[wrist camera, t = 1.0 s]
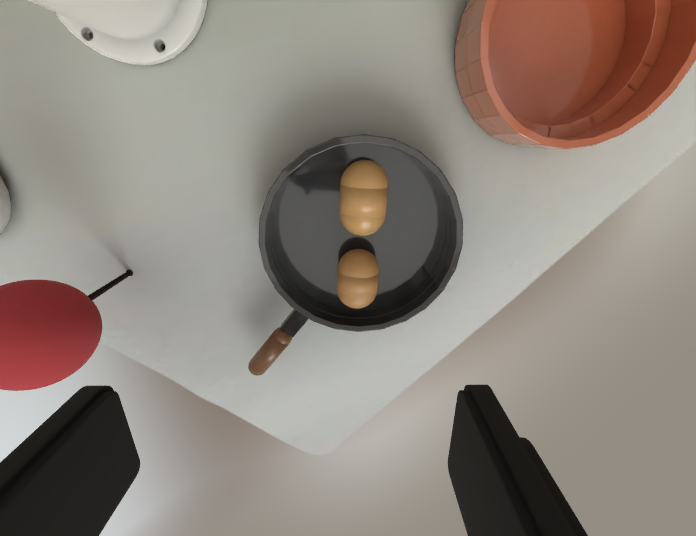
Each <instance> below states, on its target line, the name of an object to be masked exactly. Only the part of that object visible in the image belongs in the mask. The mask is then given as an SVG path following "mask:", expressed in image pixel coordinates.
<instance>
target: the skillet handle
mask: <svg viewBox="0 0 696 536" xmlns="http://www.w3.org/2000/svg"><path fill="white" fill-rule="evenodd" d="M308 319H309V318H307V317H306V316H304V315H303V314H301V313H300V312H298V311H297V310H295V309H294V310H293V311H292V312H291V313H290V315H289V316H288V317H287V318H286V320H285V321H284V322H283V323H282V325H281V327H280V328H277V329H276V330H275V331H274V332H273V333H272V335H271V336H270V337H269V338H268V340H267V341H266V342H265V343H264V344H263V346H262V347H261V348H260V349H259V351H258V352H257V353H256V354H255V355H254V357H253V358H252V359H251V360H250V362H249V371H250V372H251V373H252V374H253V375H262V374H263V373H264V372H265V371H266V370H267V369H268V368H269V367H270V366H271V364H272V363H273V362H274V361H275V360H276V359H277V357H278V356H279V355H280V354H281V353H282V351H283V350H284V349H285V348H286V347H287V346H288V344H289V343H290V342H291V340H292V337H294V335H295V334H296V333H297V332H298V331H299V329H300V328H301V327H302V326H303V325H304V324H305V322H306V321H307V320H308Z"/></svg>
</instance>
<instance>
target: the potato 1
mask: <svg viewBox="0 0 696 536" xmlns="http://www.w3.org/2000/svg"><path fill="white" fill-rule="evenodd" d="M388 188H389V182H388V177H387V174H386V172H385V171H384V169H383V168H382V167H381V166H380V165H379V164H377V163H376V162H373V161H371V160H359V161H356V162H354V163H352V164H351V165H350V166H348V167H347V169H346V170H345V171H344V173H343V175H342V178H341V183H340V204H339V216H340V220H341V222H342V224H343V226H344V227H345V228H346V229H347V230H348V231H349V232H351V233H353V234H355V235H359V236H366V235H370V234H373V233H374V232H376V231H377V230H378V229H379V228H380V227H381V226H382V224H383V223H384V220H385V217H386V209H387V199H388Z"/></svg>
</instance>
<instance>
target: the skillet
mask: <svg viewBox="0 0 696 536" xmlns="http://www.w3.org/2000/svg"><path fill="white" fill-rule="evenodd" d="M359 160H371V161H373V162H376V163H377V164H379V165H380V166H381V167H382V168H383V169H384V171H385V172H386V174H387V177H388V182H389V188H388V199H387V209H386V217H385V220H384V223H383V224H382V226H381V227H380V228H379V229H378V230H377V231H376V232H374V233H373V234H370V235H366V236H359V235H355V234H353V233H351V232H349V231H348V230H347V229H346V228H345V227H344V226H343V224H342V222H341V220H340V216H339V204H340V183H341V178H342V175H343V173H344V171H345V170H346V169H347V167H348V166H350V165H351V164H352V163H354V162H356V161H359ZM462 219H463V218H462V215H461V211H460V207H459V204H458V200H457V196H456V194H455V192H454V190H453V188H452V187H451V185H450V184H449V182H448V180H447V179H446V177H445V176H444V174H443V172H442V171H441V170H440V169H439V168H438V167H437V166H436V165H435V164H434V163H433V162H431V161H430V160H429V159H428V158H427V157H426V156H425V155H424V154H422V153H421V152H420V151H418V150H416V149H414V148H412V147H410V146H408V145H405V144H403V143H401V142H399V141H397V140H395V139H391V138H384V137H378V136H371V135H365V134H364V135H363V134H362V135H355V136H347V137H339V138H334V139H331V140H329V141H327V142H324V143H322V144H320V145H317V146H315V147H313V148H310V149H308V150H307V151H305V152H304V153H303V154H301V155H300V156H299V157H298V158H297V159H295V160H294V161H293V162H292V163H291V164H289V165H288V166H287V167H286V168H285V169H284V170H283V171H282V173H281V174H280V176H279V177H278V179H277V180H276V181H275V183H274V184H273V186H272V187H271V189H270V190H269V192H268V194H267V197H266V200H265V203H264V206H263V209H262V212H261V215H260V223H259V247H260V252H261V256H262V260H263V264H264V268H265V270H266V272H267V274H268V276H269V278H270V280H271V281H272V283H273V285H274V287H275V289H276V290H277V292H278V293H279V294H280V295H281V296H282V297H283V298H284V299H285V300H286V301H287V302H288V303H289V305H290V306H291V307H292V308H293V309H295V310H297V311H298V312H300V313H301V314H303V315H304V316H306V317H307V318H309V319H310V320H312V321H314V322H317V323H320V324H322V325H325V326H328V327H331V328H334V329H339V330H348V331H356V332H362V331H371V330H380V329H385V328H387V327H390V326H393V325H396V324H399V323H402V322H405V321H407V320H408V319H410V318H412V317H413V316H415V315H416V314H418V313H419V312H421V311H423V310H424V309H426V308H427V307H428V306H429V305H430V304H431V303H432V302H433V301H434V300H435V299H436V298H437V297H438V296H439V295H440V293H441V292H442V291H443V290H444V288H445V287H446V285H447V283H448V282H449V280H450V278H451V276H452V275H453V273H454V271H455V269H456V267H457V263H458V260H459V256H460V253H461V249H462V244H463V220H462ZM353 249H364V250H367V251H369V252H370V253H371V254H373V255H374V257H375V258H376V260H377V262H378V265H379V278H378V288H377V294H376V296H375V299H374V300H373V301H372V303H370V304H369V305H368V306H366V307H364V308H359V309H356V308H350V307H348V306H346V305H345V304H344V303H343V302H342V301H341V300H340V298H339V296H338V293H337V272H338V264H339V261H340V259H341V258H342V256H343V255H344V254H345V253H347V252H348V251H350V250H353Z"/></svg>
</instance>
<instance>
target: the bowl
mask: <svg viewBox="0 0 696 536" xmlns="http://www.w3.org/2000/svg"><path fill="white" fill-rule="evenodd" d="M695 60H696V0H469V1H468V3H467V5H466V7H465V9H464V12H463V14H462V17H461V22H460V26H459V31H458V35H457V40H456V45H455V73H456V78H457V82H458V86H459V90H460V94H461V97H462V100H463V102H464V104H465V105H466V107H467V109H468V111H469V113H470V114H471V116H472V118H473V119H474V120H475V121H476V122H477V123H478V124H479V125H480V126H481V127H482V128H483V129H484V130H485V131H486V132H487V133H488V134H489V135H491V136H493V137H495V138H497V139H499V140H501V141H503V142H506V143H508V144H514V145H520V146H527V147H542V148H559V149H569V148H577V147H585V146H592V145H596V144H598V143H601V142H603V141H606V140H608V139H611V138H614V137H616V136H619V135H621V134H623V133H624V132H626V131H627V130H629V129H630V128H632V127H634V126H635V125H637V124H638V123H640V122H641V121H643V120H644V119H646V118H647V117H648V116H649V115H650V114H651V113H652V112H654V111H655V110H656V109H657V108H658V107H659V106H660V105H661V104H662V103H663V102H664V101H665V100H666V99H667V98H668V97H669V96H670V95H671V94H672V93H673V91H674V90H675V89H676V88H677V86H678V85H679V83H680V82H681V80H682V79H683V78H684V76H685V75H686V73H687V72H688V70H689V69H690V68H691V66H692V65H693V63H694V61H695Z"/></svg>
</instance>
